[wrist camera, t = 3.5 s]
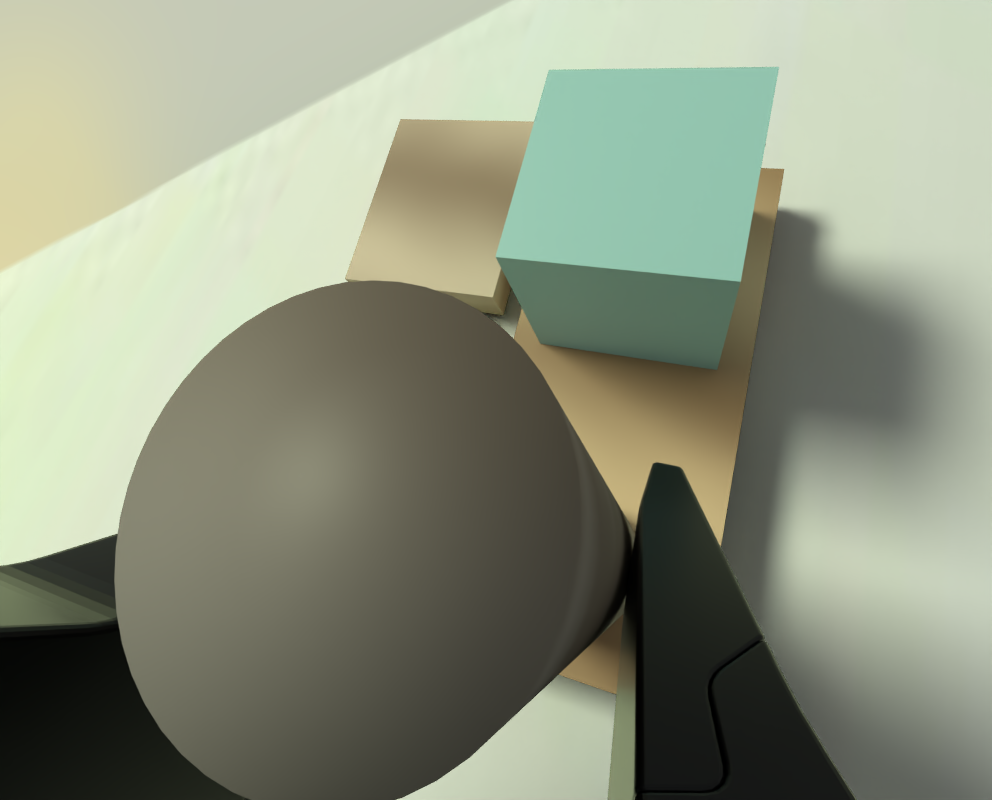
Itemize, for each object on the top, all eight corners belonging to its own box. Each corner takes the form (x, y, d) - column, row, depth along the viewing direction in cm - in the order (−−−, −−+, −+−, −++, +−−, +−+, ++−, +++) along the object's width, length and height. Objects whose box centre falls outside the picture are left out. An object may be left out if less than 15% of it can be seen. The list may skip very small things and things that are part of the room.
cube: (717, 369, 14) (740, 281, 10) (540, 343, 15) (495, 257, 11) (746, 209, 15) (779, 67, 11) (577, 198, 16) (548, 70, 12)
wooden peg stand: (689, 708, 13) (856, 1508, 2) (451, 627, 15) (-178, 776, 4) (775, 197, 16) (1043, -695, 5) (568, 185, 18) (412, -468, 7)
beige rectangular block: (435, 562, 16) (418, 560, 15) (287, 518, 17) (263, 513, 16) (549, 148, 19) (542, 122, 18) (414, 144, 20) (400, 119, 19)
